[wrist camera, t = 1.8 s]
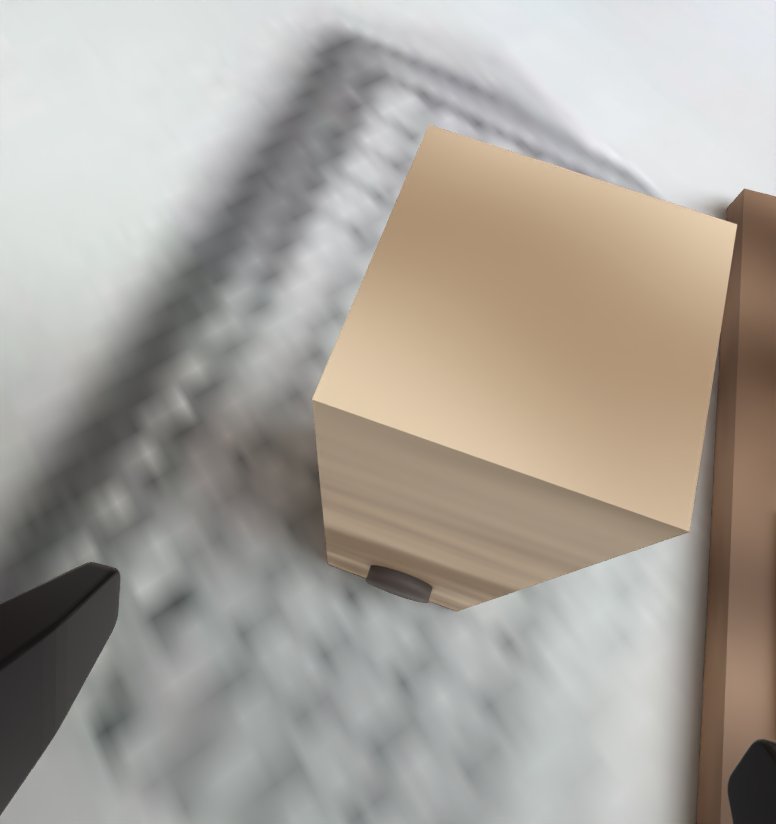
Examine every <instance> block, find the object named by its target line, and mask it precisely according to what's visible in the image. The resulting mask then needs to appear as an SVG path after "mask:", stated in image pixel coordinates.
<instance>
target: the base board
mask: <svg viewBox="0 0 776 824" xmlns="http://www.w3.org/2000/svg"><path fill="white" fill-rule="evenodd" d="M727 221H728V222H731V223H734V224H737V229H736V236H735V242H734V248H733V255H732V261H731V268H730V274H729V281H728V287H727V294H726V300H725V307H724V313H723V319H722V326H721V340H720V360H719V380H718V400H717V420H716V440H715V460H714V480H713V500H712V520H711V540H710V560H709V580H708V600H707V619H706V639H705V659H704V679H703V699H702V719H701V739H700V759H699V779H698V799H697V819H696V824H733V821H732V816H731V811H730V805H729V800H728V793H727V786H728V780H729V777H730V775H731V773H732V771H733V770H734V768H735V767H736V765H737V764H738V763H739V761H740V760H741V758H742V757H743V755H744V754H745V752H746V751H747V749H748V748H749V746H750V745H751V744H752V743H753V742H754V741H756V740H758V739H766V740H770V741H773V742H776V197H775V196H771V195H767V194H763V193H759V192H755V191H751V190H747V189H743V191H742V192H741V193H740V194H739V195H738V196H737V197H736V199H735V200H734V201H733V202H732V203H731V204H730V205H729V207H728V208H727Z"/></svg>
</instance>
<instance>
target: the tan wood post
mask: <svg viewBox="0 0 776 824" xmlns="http://www.w3.org/2000/svg"><path fill="white" fill-rule="evenodd" d="M736 229H737V224H734V223H731V222H728V221H725V220H722V219H719V218H716V217H713V216H710V215H707V214H704V213H700V212H697V211H694V210H691V209H688V208H685V207H682V206H679V205H676V204H673V203H670V202H666V201H663V200H660V199H657V198H654V197H651V196H648V195H645V194H642V193H639V192H636V191H632V190H629V189H626V188H623V187H620V186H617V185H614V184H611V183H608V182H605V181H602V180H599V179H595V178H592V177H589V176H586V175H583V174H580V173H577V172H574V171H571V170H568V169H565V168H561V167H558V166H555V165H552V164H549V163H546V162H543V161H540V160H537V159H534V158H531V157H527V156H524V155H521V154H518V153H515V152H512V151H509V150H506V149H503V148H500V147H497V146H493V145H490V144H487V143H484V142H481V141H478V140H475V139H472V138H469V137H466V136H463V135H459V134H456V133H453V132H450V131H447V130H444V129H441V128H438V127H435V126H432V125H429V126H428V128H427V130H426V133H425V135H424V137H423V140H422V142H421V144H420V147H419V149H418V151H417V154H416V156H415V159H414V161H413V163H412V166H411V168H410V170H409V173H408V175H407V177H406V180H405V182H404V184H403V187H402V189H401V191H400V194H399V196H398V198H397V201H396V203H395V205H394V208H393V210H392V213H391V215H390V217H389V220H388V222H387V224H386V227H385V229H384V231H383V234H382V236H381V238H380V241H379V243H378V245H377V248H376V250H375V252H374V255H373V257H372V259H371V262H370V264H369V266H368V269H367V271H366V274H365V276H364V278H363V281H362V283H361V285H360V288H359V290H358V292H357V295H356V297H355V299H354V302H353V304H352V306H351V309H350V311H349V313H348V316H347V318H346V320H345V323H344V325H343V328H342V330H341V332H340V335H339V337H338V339H337V342H336V344H335V346H334V349H333V351H332V353H331V356H330V358H329V360H328V363H327V365H326V367H325V370H324V372H323V374H322V377H321V379H320V382H319V384H318V386H317V389H316V391H315V393H314V396H313V398H312V406H313V416H314V426H315V437H316V447H317V457H318V468H319V478H320V488H321V499H322V509H323V519H324V530H325V540H326V550H327V561H328V565H331V566H334V567H337V568H339V569H342V570H345V571H348V572H350V573H353V574H356V575H359V576H361V577H364V578H366V581H367V582H368V583H370V584H371V585H373V586H375V587H377V588H380V589H382V590H384V591H387V592H389V593H392V594H395V595H398V596H401V597H404V598H407V599H410V600H414V601H418V602H423V603H428V601H430V602H433V603H436V604H438V605H441V606H444V607H447V608H449V609H452V610H455V611H460V610H463V609H466V608H469V607H472V606H474V605H477V604H480V603H483V602H486V601H489V600H492V599H495V598H498V597H501V596H504V595H507V594H509V593H512V592H515V591H518V590H521V589H524V588H527V587H530V586H533V585H536V584H539V583H542V582H544V581H547V580H550V579H553V578H556V577H559V576H562V575H565V574H568V573H571V572H574V571H576V570H579V569H582V568H585V567H588V566H591V565H594V564H597V563H600V562H603V561H606V560H609V559H611V558H614V557H617V556H620V555H623V554H626V553H629V552H632V551H635V550H638V549H641V548H644V547H646V546H649V545H652V544H655V543H658V542H661V541H664V540H667V539H670V538H673V537H676V536H679V535H681V534H684V533H687V532H690V526H691V520H692V513H693V507H694V500H695V494H696V487H697V481H698V475H699V468H700V462H701V455H702V449H703V442H704V436H705V429H706V423H707V416H708V410H709V403H710V397H711V391H712V384H713V378H714V371H715V365H716V358H717V352H718V345H719V339H720V332H721V326H722V319H723V313H724V307H725V300H726V294H727V287H728V281H729V274H730V268H731V261H732V255H733V248H734V242H735V236H736Z"/></svg>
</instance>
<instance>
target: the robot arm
mask: <svg viewBox="0 0 776 824" xmlns="http://www.w3.org/2000/svg"><path fill="white" fill-rule="evenodd" d="M119 592H120V573H119V571H118V570H117V569H116V568H114V567H110V566H106V565H102V564H98V563H94V562H90V563H86V564H83V565H81V566H79V567H77V568H75V569H73V570H70V571H68V572H66V573H64V574H62V575H60V576H57V577H55V578H53V579H51V580H49V581H47V582H45V583H42V584H40V585H38V586H36V587H34V588H32V589H29V590H27V591H25V592H23V593H21V594H19V595H16V596H14V597H12V598H10V599H8V600H6V601H4V602H1V603H0V815H1V814H2V812H3V811H4V809H5V808H6V806H7V805H8V803H9V802H10V801H11V799H12V798H13V796H14V795H15V793H16V792H17V790H18V789H19V787H20V786H21V785H22V783H23V782H24V780H25V779H26V777H27V776H28V774H29V773H30V771H31V770H32V769H33V767H34V766H35V764H36V763H37V761H38V760H39V758H40V757H41V755H42V754H43V753H44V751H45V750H46V748H47V746H48V745H49V743H50V742H51V740H52V739H53V737H54V736H55V734H56V732H57V731H58V729H59V727H60V725H61V724H62V722H63V720H64V719H65V717H66V715H67V713H68V711H69V709H70V708H71V706H72V704H73V702H74V700H75V699H76V697H77V695H78V693H79V691H80V689H81V688H82V686H83V684H84V682H85V680H86V678H87V677H88V675H89V673H90V671H91V669H92V668H93V666H94V664H95V662H96V660H97V658H98V657H99V655H100V653H101V651H102V649H103V647H104V646H105V644H106V642H107V640H108V638H109V636H110V635H111V633H112V631H113V629H114V626H115V624H116V621H117V617H118V608H119ZM727 793H728V800H729V805H730V811H731V816H732V821H733V824H776V742H773V741H770V740H766V739H758V740H756V741H754V742H753V743H752V744H751V745H750V746H749V748H748V749H747V751H746V752H745V754H744V755H743V757H742V758H741V760H740V761H739V763H738V764H737V765H736V767H735V768H734V770H733V771H732V773H731V775H730V777H729V780H728V786H727Z"/></svg>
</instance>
